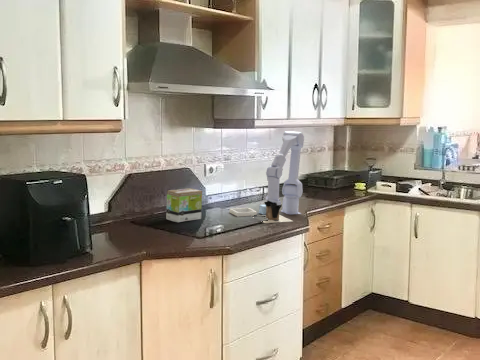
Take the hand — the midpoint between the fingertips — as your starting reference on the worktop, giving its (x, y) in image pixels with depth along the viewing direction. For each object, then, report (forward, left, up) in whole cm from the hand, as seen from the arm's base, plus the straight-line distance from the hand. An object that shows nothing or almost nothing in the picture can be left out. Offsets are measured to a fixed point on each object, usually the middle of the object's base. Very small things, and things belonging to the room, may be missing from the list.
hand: (272, 216), depth 287 cm
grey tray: (-15, -10, -2) cm, 18 cm away
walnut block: (0, 0, -1) cm, 1 cm away
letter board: (0, 0, -2) cm, 2 cm away
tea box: (-12, -43, -2) cm, 45 cm away
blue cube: (-13, +2, -2) cm, 13 cm away
